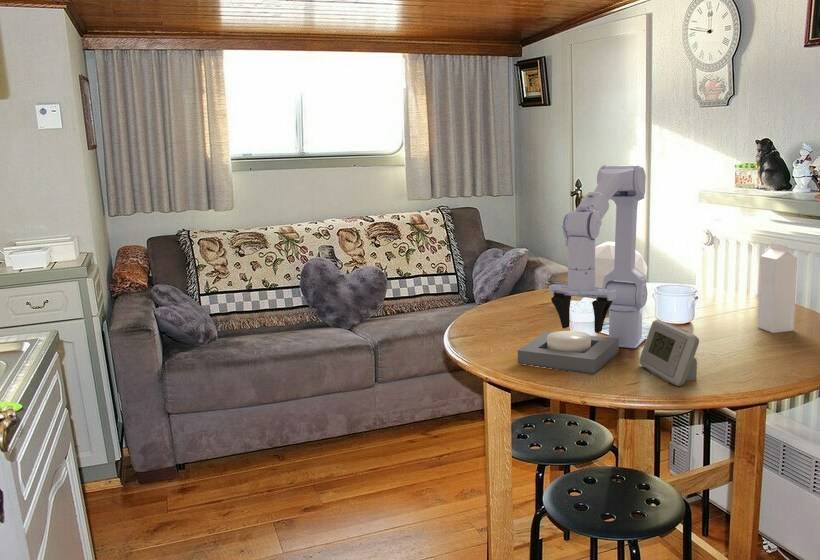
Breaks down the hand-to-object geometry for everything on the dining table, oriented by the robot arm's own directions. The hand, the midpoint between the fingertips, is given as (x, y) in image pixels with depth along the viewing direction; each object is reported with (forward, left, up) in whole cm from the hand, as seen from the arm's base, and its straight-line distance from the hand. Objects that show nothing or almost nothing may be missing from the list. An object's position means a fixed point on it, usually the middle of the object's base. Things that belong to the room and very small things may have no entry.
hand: (581, 329), depth 156 cm
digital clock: (-6, +17, -10) cm, 21 cm away
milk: (-53, +33, -10) cm, 63 cm away
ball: (-68, -13, -10) cm, 71 cm away
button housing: (-9, -6, -10) cm, 15 cm away
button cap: (-9, -6, -8) cm, 14 cm away
